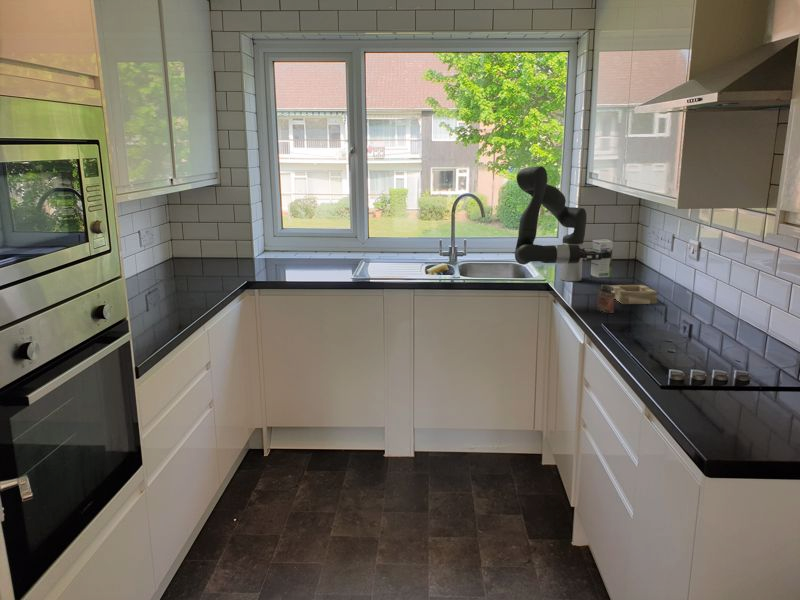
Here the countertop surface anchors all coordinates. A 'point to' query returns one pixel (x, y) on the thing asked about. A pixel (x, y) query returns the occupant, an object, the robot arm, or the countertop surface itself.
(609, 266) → the syrup box
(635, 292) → the collar
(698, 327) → the countertop surface
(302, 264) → the countertop surface
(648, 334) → the countertop surface
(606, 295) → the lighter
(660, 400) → the countertop surface
